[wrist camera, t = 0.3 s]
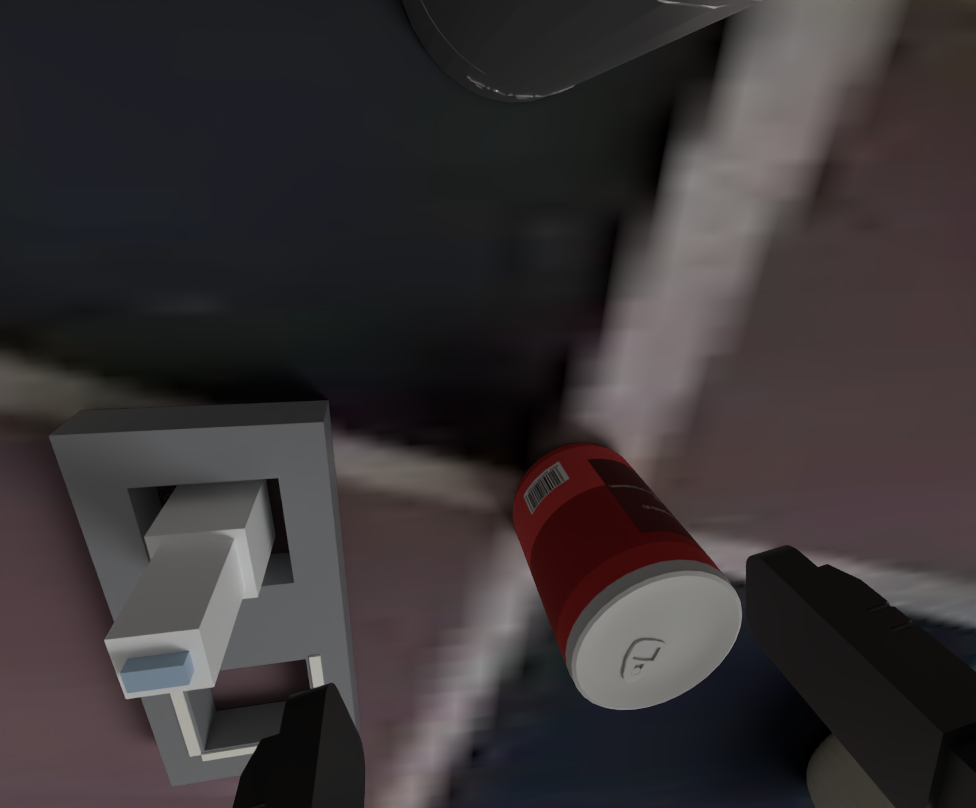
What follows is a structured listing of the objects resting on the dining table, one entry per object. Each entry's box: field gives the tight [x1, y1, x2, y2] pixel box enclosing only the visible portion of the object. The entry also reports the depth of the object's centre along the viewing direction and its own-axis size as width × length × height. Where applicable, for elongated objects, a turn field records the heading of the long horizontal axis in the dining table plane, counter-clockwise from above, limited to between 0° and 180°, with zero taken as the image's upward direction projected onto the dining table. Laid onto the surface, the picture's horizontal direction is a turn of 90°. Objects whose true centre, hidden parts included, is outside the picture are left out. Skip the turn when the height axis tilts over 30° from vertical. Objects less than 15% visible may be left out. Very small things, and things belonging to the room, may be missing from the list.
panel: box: [49, 400, 360, 787], centre depth 28 cm, size 24×11×3 cm, turn 178°
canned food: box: [513, 443, 742, 710], centre depth 26 cm, size 8×8×11 cm
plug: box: [104, 479, 276, 699], centre depth 23 cm, size 4×4×10 cm
